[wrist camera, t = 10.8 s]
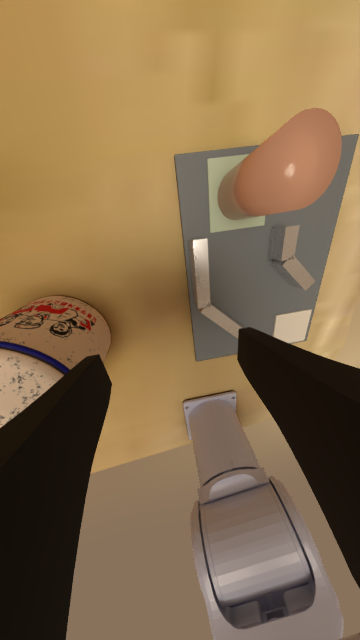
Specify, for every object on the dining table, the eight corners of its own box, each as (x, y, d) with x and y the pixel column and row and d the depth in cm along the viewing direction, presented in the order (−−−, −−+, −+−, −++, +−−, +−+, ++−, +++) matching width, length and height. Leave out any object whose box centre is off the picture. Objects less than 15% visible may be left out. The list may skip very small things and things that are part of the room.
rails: (290, 327, 21) (302, 336, 20) (198, 344, 21) (202, 355, 19) (310, 222, 16) (330, 220, 14) (188, 239, 15) (192, 240, 14)
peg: (257, 217, 15) (329, 205, 9) (217, 222, 15) (263, 214, 9) (261, 164, 13) (352, 104, 7) (216, 169, 13) (271, 112, 7)
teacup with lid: (111, 295, 17) (44, 388, 7) (116, 366, 21) (78, 495, 11) (-33, 286, 15) (-447, 399, 5) (2, 367, 19) (-183, 526, 9)
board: (303, 339, 23) (307, 341, 22) (195, 359, 22) (196, 362, 22) (353, 136, 14) (361, 132, 13) (174, 156, 13) (175, 153, 12)
